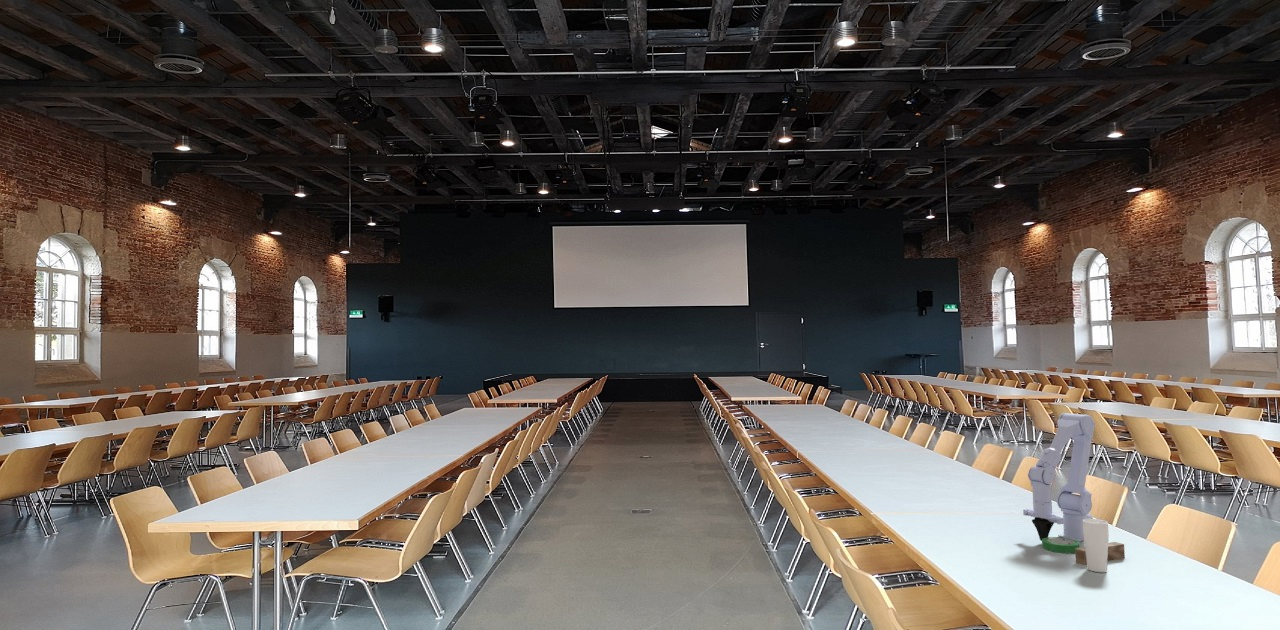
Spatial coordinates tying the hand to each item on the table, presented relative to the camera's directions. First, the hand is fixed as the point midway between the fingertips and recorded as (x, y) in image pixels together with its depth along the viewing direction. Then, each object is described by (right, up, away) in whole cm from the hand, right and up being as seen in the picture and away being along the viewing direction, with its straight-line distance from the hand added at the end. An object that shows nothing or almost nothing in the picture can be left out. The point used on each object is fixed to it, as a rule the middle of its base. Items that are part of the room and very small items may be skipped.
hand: (1043, 540), depth 251 cm
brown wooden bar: (+7, 0, -20) cm, 21 cm away
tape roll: (+2, -1, -6) cm, 7 cm away
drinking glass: (0, 0, -29) cm, 29 cm away
